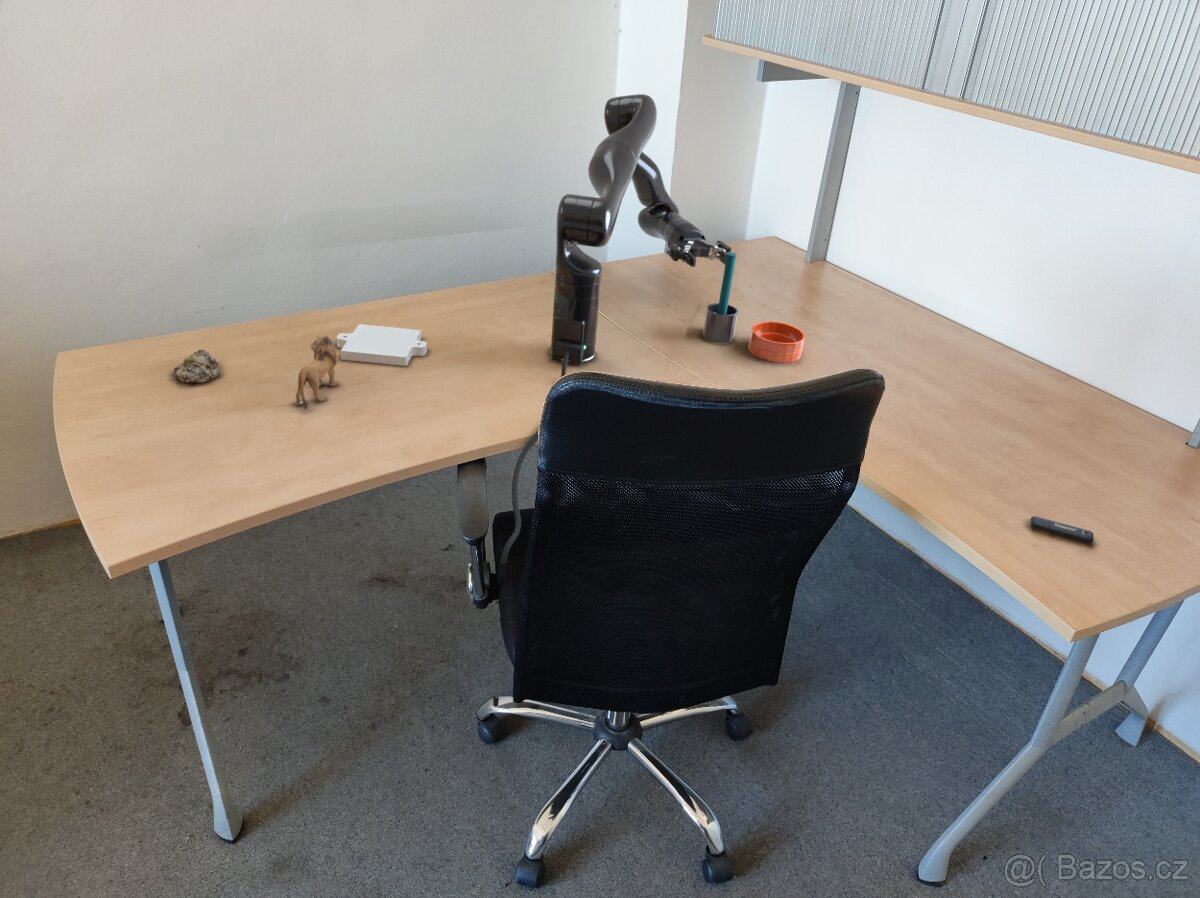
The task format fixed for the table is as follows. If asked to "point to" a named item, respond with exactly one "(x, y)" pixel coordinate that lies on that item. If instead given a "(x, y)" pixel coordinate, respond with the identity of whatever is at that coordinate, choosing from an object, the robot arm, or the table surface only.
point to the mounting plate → (381, 345)
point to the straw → (726, 283)
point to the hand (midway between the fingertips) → (711, 262)
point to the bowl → (776, 341)
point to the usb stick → (1062, 529)
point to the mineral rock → (197, 368)
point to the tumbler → (720, 324)
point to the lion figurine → (317, 368)
